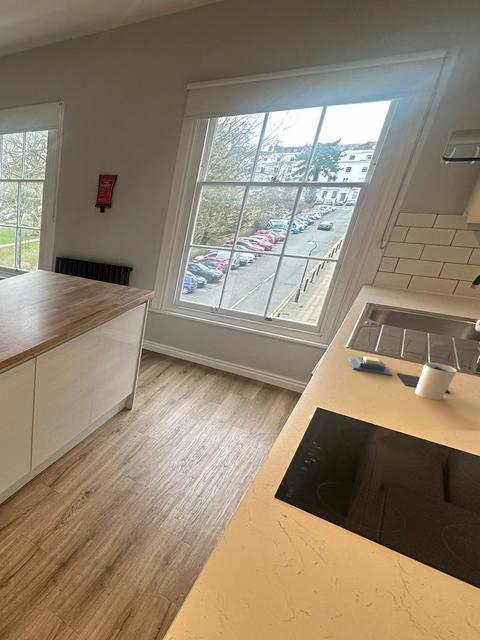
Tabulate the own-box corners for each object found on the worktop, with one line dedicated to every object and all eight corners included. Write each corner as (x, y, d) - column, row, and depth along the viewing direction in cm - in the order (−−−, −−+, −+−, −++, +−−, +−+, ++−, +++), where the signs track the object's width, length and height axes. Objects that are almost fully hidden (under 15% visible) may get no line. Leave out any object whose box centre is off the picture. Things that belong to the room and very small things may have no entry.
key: (376, 361, 145) (377, 358, 144) (378, 365, 142) (380, 361, 141) (362, 359, 147) (364, 356, 146) (365, 363, 144) (366, 359, 143)
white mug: (406, 390, 129) (418, 363, 126) (426, 390, 129) (439, 362, 126) (429, 401, 123) (442, 372, 119) (450, 400, 123) (464, 371, 120)
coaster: (437, 381, 135) (438, 379, 134) (449, 393, 127) (450, 392, 127) (396, 374, 140) (397, 373, 140) (405, 386, 132) (406, 384, 132)
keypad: (383, 365, 146) (386, 359, 145) (391, 376, 139) (393, 370, 138) (347, 360, 152) (349, 354, 151) (353, 369, 144) (355, 363, 143)
